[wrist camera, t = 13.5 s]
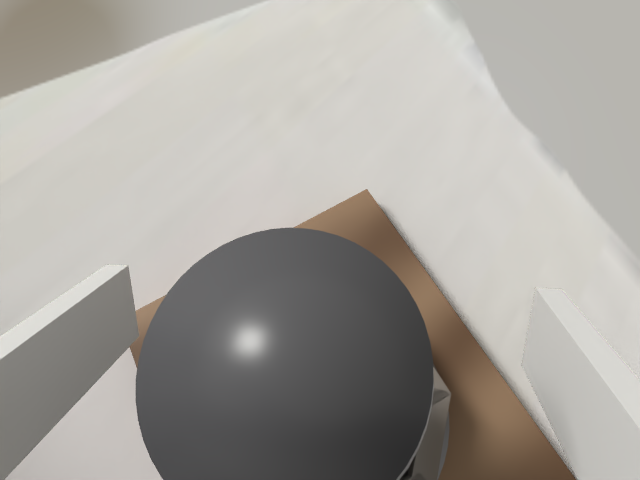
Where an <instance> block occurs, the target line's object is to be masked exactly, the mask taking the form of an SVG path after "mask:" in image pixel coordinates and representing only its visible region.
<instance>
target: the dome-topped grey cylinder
mask: <svg viewBox="0 0 640 480" xmlns="http://www.w3.org/2000/svg"><path fill="white" fill-rule="evenodd" d="M433 391H434V369H433V357H432V351H431V344H430V339H429V336H428V332H427V329H426V325H425V322H424V320H423V317H422V315H421V313H420V311H419V308H418V306H417V304H416V302H415V301H414V299H413V297H412V296H411V294H410V292H409V290H408V289H407V287H406V286H405V285H404V284H403V282H402V281H401V280H400V279H399V277H398V276H397V275H396V274H395V273H394V272H393V271H392V270H391V269H390V268H389V267H388V266H387V265H386V264H385V263H384V262H383V261H382V260H381V259H379V258H378V257H377V256H375V255H374V254H373V253H371V252H370V251H369V250H367V249H365V248H363V247H362V246H360V245H358V244H356V243H355V242H352V241H350V240H348V239H345V238H343V237H341V236H338V235H335V234H331V233H327V232H324V231H319V230H313V229H306V228H280V229H270V230H265V231H260V232H255V233H252V234H249V235H246V236H243V237H240V238H237V239H235V240H233V241H231V242H229V243H226V244H224V245H222V246H221V247H219V248H217V249H216V250H214V251H212V252H211V253H209V254H207V255H206V256H205V257H203V258H202V259H201V260H199V261H198V262H197V263H195V264H194V265H193V266H192V267H191V268H190V269H189V270H188V271H187V272H186V273H185V274H184V275H183V276H181V277H180V279H179V280H178V281H177V282H176V283H175V285H174V286H173V287H172V288H171V289H170V291H169V292H168V293H167V295H166V296H165V298H164V299H163V301H162V302H161V304H160V305H159V307H158V309H157V311H156V313H155V315H154V317H153V319H152V321H151V322H150V325H149V327H148V330H147V333H146V335H145V338H144V341H143V344H142V348H141V352H140V356H139V360H138V367H137V375H136V406H137V414H138V421H139V425H140V429H141V433H142V437H143V440H144V443H145V445H146V448H147V450H148V453H149V455H150V458H151V460H152V462H153V463H154V465H155V467H156V468H157V470H158V472H159V474H160V475H161V477H162V478H163V480H400V478H401V477H402V476H403V474H404V473H405V472H406V470H407V469H408V468H409V466H410V464H411V462H412V460H413V459H414V457H415V455H416V453H417V451H418V450H419V447H420V445H421V442H422V440H423V437H424V434H425V432H426V429H427V425H428V421H429V417H430V413H431V409H432V401H433Z"/></svg>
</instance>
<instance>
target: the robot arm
mask: <svg viewBox="0 0 640 480" xmlns="http://www.w3.org/2000/svg"><path fill="white" fill-rule="evenodd" d="M138 337H139V331H138V325H137V318H136V312H135V306H134V299H133V293H132V287H131V280H130V274H129V268H128V265H112V264H107V265H105V266H104V267H102V268H101V269H99V270H98V271H96V272H95V273H93V274H92V275H90V276H89V277H87V278H86V279H84V280H83V281H81V282H80V283H79V284H77V285H76V286H74V287H73V288H71V289H70V290H68V291H67V292H65V293H64V294H62V295H61V296H59V297H58V298H56V299H55V300H53V301H52V302H50V303H49V304H47V305H46V306H44V307H43V308H41V309H40V310H39V311H37V312H36V313H34V314H33V315H31V316H30V317H28V318H27V319H25V320H24V321H22V322H21V323H19V324H18V325H16V326H15V327H13V328H12V329H10V330H9V331H7V332H6V333H4V334H3V335H2V336H0V480H4V479H5V478H6V477H7V476H8V475H9V474H10V473H11V472H12V471H13V470H14V469H15V468H16V466H17V465H18V464H19V463H20V462H21V461H22V460H23V459H24V458H25V457H26V456H27V455H28V454H29V453H30V452H31V451H32V449H33V448H34V447H35V446H36V445H37V444H38V443H39V442H40V441H41V440H42V439H43V438H44V437H45V436H46V435H47V434H48V432H49V431H50V430H51V429H52V428H53V427H54V426H55V425H56V424H57V423H58V422H59V421H60V420H61V419H62V418H63V417H64V415H65V414H66V413H67V412H68V411H69V410H70V409H71V408H72V407H73V406H74V405H75V404H76V403H77V402H78V401H79V400H80V399H81V397H82V396H83V395H84V394H85V393H86V392H87V391H88V390H89V389H90V388H91V387H92V386H93V385H94V384H95V383H96V382H97V380H98V379H99V378H100V377H101V376H102V375H103V374H104V373H105V372H106V371H107V370H108V369H109V368H110V367H111V366H112V365H113V363H114V362H115V361H116V360H117V359H118V358H119V357H120V356H121V355H122V354H123V353H124V352H125V351H126V350H127V349H128V348H129V346H130V345H131V344H132V343H133V342H134V341H135V340H136V339H137V338H138ZM521 365H522V367H523V369H524V371H525V373H526V375H527V377H528V379H529V381H530V383H531V385H532V387H533V389H534V391H535V393H536V396H537V398H538V400H539V402H540V404H541V406H542V408H543V410H544V412H545V414H546V416H547V418H548V420H549V422H550V424H551V426H552V428H553V430H554V432H555V434H556V436H557V438H558V440H559V443H560V445H561V447H562V449H563V451H564V453H565V455H566V457H567V459H568V461H569V463H570V465H571V467H572V469H573V471H574V473H575V475H576V477H577V479H578V480H640V379H639V378H638V377H637V376H636V375H635V373H634V372H633V371H632V370H631V369H630V368H629V366H628V365H627V364H626V363H625V362H624V361H623V359H622V358H621V357H620V356H619V355H618V354H617V352H616V351H615V350H614V349H613V348H612V347H611V345H610V344H609V343H608V342H607V341H606V340H605V338H604V337H603V336H602V335H601V334H600V333H599V331H598V330H597V329H596V328H595V327H594V326H593V324H592V323H591V322H590V321H589V320H588V319H587V317H586V316H585V315H584V314H583V313H582V312H581V310H580V309H579V308H578V307H577V306H576V305H575V303H574V302H573V301H572V300H571V299H570V298H569V297H568V295H567V294H566V293H565V292H564V291H563V290H562V289H554V288H536V287H535V292H534V297H533V303H532V308H531V314H530V319H529V325H528V330H527V336H526V341H525V347H524V352H523V358H522V363H521Z"/></svg>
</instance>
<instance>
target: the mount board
mask: <svg viewBox="0 0 640 480" xmlns="http://www.w3.org/2000/svg"><path fill="white" fill-rule="evenodd" d="M294 228H306V229H313V230H319V231H324V232H327V233H331V234H335V235H338V236H341V237H343V238H345V239H348V240H350V241H352V242H355V243H356V244H358V245H360V246H362V247H363V248H365V249H367V250H369V251H370V252H371V253H373V254H374V255H375V256H377V257H378V258H379V259H381V260H382V261H383V262H384V263H385V264H386V265H387V266H388V267H389V268H390V269H391V270H392V271H393V272H394V273H395V274H396V275H397V276H398V277H399V279H400V280H401V281H402V282H403V284H404V285H405V286H406V287H407V289H408V290H409V292H410V294H411V296H412V297H413V299H414V301H415V302H416V304H417V306H418V308H419V311H420V313H421V315H422V317H423V320H424V322H425V325H426V329H427V332H428V336H429V339H430V344H431V351H432V357H433V369H434V391H433V401H432V409H431V413H430V417H429V421H428V425H427V429H426V432H425V434H424V437H423V440H422V442H421V445H420V447H419V450H418V451H417V453H416V455H415V457H414V459H413V460H412V462H411V464H410V466H409V468H408V469H407V470H406V472H405V473H404V474H403V476H402V477H401V478H400V480H576V479H575V478H574V476H573V475H572V473H571V472H570V471H569V469H568V468H567V467H566V465H565V464H564V462H563V461H562V460H561V458H560V457H559V455H558V454H557V453H556V451H555V450H554V448H553V447H552V446H551V444H550V443H549V442H548V440H547V439H546V437H545V436H544V435H543V433H542V432H541V430H540V429H539V428H538V426H537V425H536V423H535V422H534V421H533V419H532V418H531V416H530V415H529V414H528V412H527V411H526V410H525V408H524V407H523V405H522V404H521V403H520V401H519V400H518V398H517V397H516V396H515V394H514V393H513V391H512V390H511V389H510V387H509V386H508V385H507V383H506V382H505V380H504V379H503V378H502V376H501V375H500V373H499V372H498V371H497V369H496V368H495V366H494V365H493V364H492V362H491V361H490V360H489V358H488V357H487V355H486V354H485V353H484V351H483V350H482V348H481V347H480V346H479V344H478V343H477V341H476V340H475V339H474V337H473V336H472V334H471V333H470V332H469V330H468V329H467V328H466V326H465V325H464V323H463V322H462V321H461V319H460V318H459V316H458V315H457V314H456V312H455V311H454V309H453V308H452V307H451V305H450V304H449V303H448V301H447V300H446V298H445V297H444V296H443V294H442V293H441V291H440V290H439V289H438V287H437V286H436V284H435V283H434V282H433V280H432V279H431V278H430V276H429V275H428V273H427V272H426V271H425V269H424V268H423V266H422V265H421V264H420V262H419V261H418V259H417V258H416V257H415V255H414V254H413V253H412V251H411V250H410V248H409V247H408V246H407V244H406V243H405V241H404V240H403V239H402V237H401V236H400V234H399V233H398V232H397V230H396V229H395V227H394V226H393V225H392V223H391V222H390V221H389V219H388V218H387V216H386V215H385V214H384V212H383V211H382V209H381V208H380V207H379V205H378V204H377V202H376V201H375V200H374V198H373V197H372V196H371V194H370V193H369V191H368V190H367V189H366V190H364V191H362V192H360V193H358V194H357V195H355V196H353V197H351V198H349V199H347V200H345V201H343V202H341V203H339V204H338V205H336V206H334V207H332V208H330V209H328V210H326V211H324V212H322V213H321V214H319V215H317V216H315V217H313V218H311V219H309V220H307V221H305V222H303V223H302V224H300V225H298V226H296V227H294ZM165 296H166V295H165ZM165 296H163V297H161V298H159V299H157V300H156V301H154V302H152V303H150V304H148V305H146V306H144V307H142V308H140V309H138V310H137V311H135V312H136V318H137V325H138V331H139V337H138V338H137V339H136V340H135V341H134V342H133V343H132V344H131V345H130V349H131V352H132V355H133V358H134V361H135V364H136V367H138V360H139V356H140V352H141V348H142V344H143V341H144V338H145V335H146V333H147V330H148V327H149V325H150V322H151V321H152V319H153V317H154V315H155V313H156V311H157V309H158V307H159V305H160V304H161V302H162V301H163V299H164V298H165Z"/></svg>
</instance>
